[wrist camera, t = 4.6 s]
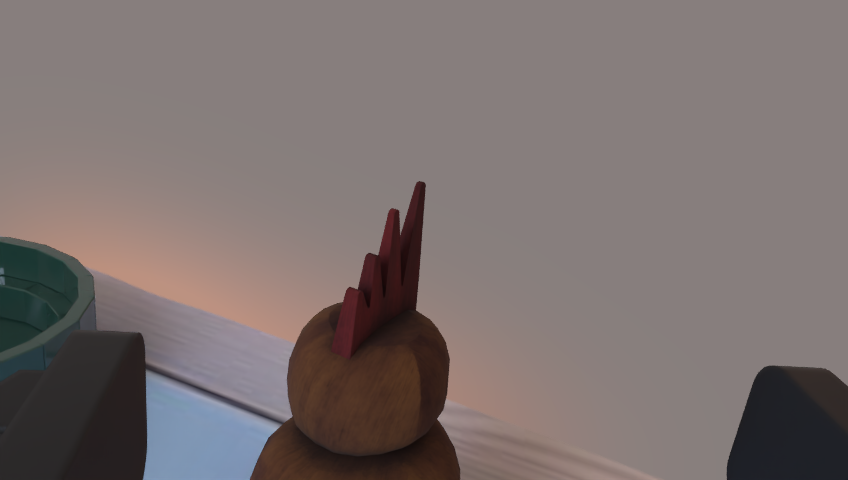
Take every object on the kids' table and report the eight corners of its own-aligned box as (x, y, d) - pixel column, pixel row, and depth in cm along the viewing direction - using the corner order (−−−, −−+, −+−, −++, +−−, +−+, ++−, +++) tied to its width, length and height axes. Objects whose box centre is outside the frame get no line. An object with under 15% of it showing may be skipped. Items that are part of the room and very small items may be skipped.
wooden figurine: (370, 515, 30) (414, 156, 24) (470, 614, 26) (549, 214, 21) (213, 593, 26) (224, 177, 20) (305, 726, 22) (350, 257, 16)
